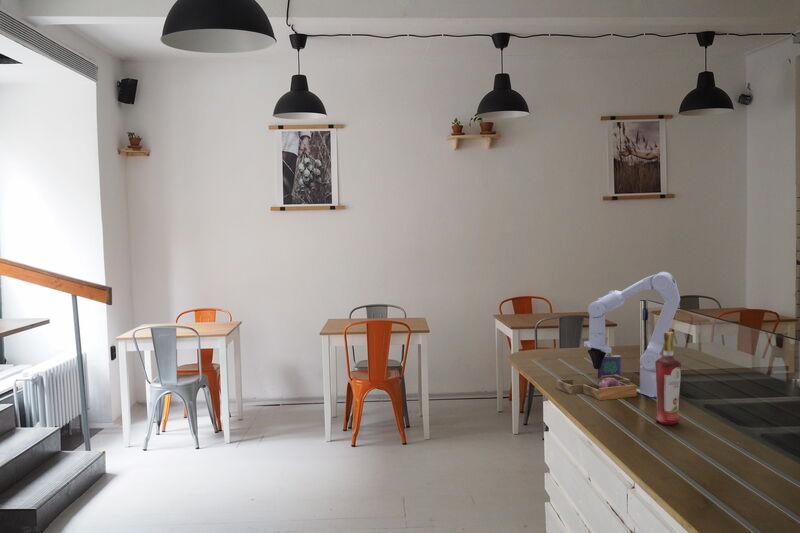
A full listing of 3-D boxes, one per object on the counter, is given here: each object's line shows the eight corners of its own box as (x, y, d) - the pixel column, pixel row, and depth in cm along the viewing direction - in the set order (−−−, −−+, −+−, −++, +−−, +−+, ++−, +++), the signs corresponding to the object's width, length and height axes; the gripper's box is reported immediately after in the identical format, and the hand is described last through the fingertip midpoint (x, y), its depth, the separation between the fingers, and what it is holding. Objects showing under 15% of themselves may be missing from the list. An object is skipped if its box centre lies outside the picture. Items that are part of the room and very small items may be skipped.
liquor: (667, 417, 198) (668, 330, 197) (685, 424, 192) (687, 333, 190) (649, 420, 196) (650, 331, 194) (667, 427, 189) (668, 335, 187)
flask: (620, 377, 252) (620, 350, 251) (622, 378, 249) (622, 352, 248) (596, 377, 252) (597, 350, 251) (598, 379, 249) (598, 352, 248)
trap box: (649, 394, 225) (649, 383, 225) (586, 401, 217) (586, 390, 217) (615, 382, 244) (615, 371, 243) (556, 388, 236) (556, 377, 236)
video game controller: (616, 395, 231) (608, 377, 233) (626, 391, 228) (618, 373, 230) (602, 400, 224) (594, 382, 226) (613, 397, 221) (605, 378, 223)
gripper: (576, 330, 241) (576, 365, 242) (599, 336, 227) (599, 373, 228) (592, 329, 243) (592, 364, 244) (616, 335, 229) (616, 372, 230)
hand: (597, 368), depth 236 cm, fingers closed
